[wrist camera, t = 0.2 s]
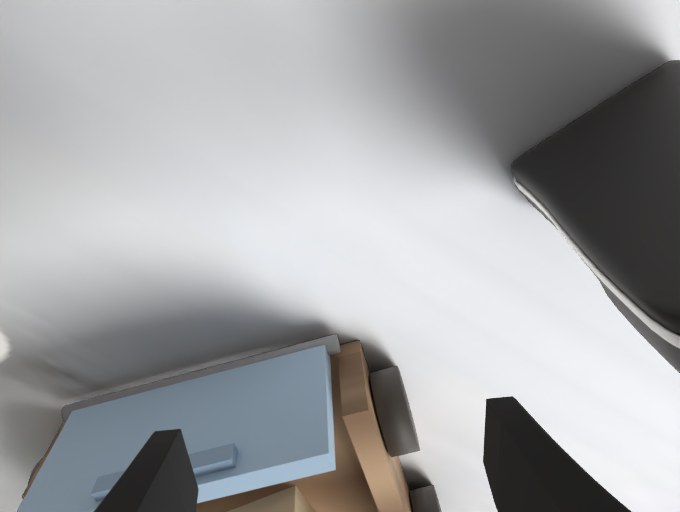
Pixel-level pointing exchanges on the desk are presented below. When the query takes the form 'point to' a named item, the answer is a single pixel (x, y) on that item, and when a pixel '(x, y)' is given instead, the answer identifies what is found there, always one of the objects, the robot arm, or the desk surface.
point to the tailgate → (201, 429)
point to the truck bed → (352, 447)
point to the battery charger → (621, 200)
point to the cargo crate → (279, 503)
